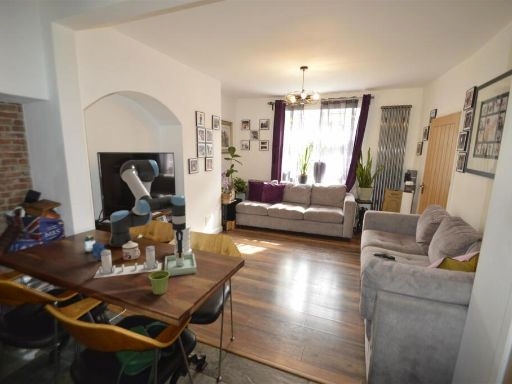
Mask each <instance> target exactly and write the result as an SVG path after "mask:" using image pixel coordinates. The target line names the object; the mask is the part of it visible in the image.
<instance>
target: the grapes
mask: <svg viewBox="0 0 512 384" xmlns="http://www.w3.org/2000/svg"><path fill="white" fill-rule="evenodd" d="M91 245H92V246H91V247H92V248H91V252H92V255H93V257H94V258H95V259H97V261H101V251H104V250H108V249H107V248H105V245H104V244H103V243H100V241H99V242H98V241H96V242H95V243H93V244H91Z"/></svg>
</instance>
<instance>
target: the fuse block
mask: <svg viewBox="0 0 512 384" xmlns="http://www.w3.org/2000/svg"><path fill="white" fill-rule="evenodd" d="M155 251H156V249H155V246H154V245H150V246H146V247H145V260H146V261H144V262H143V264H139V265H138V262H135V264H134V265H128V266H125V264H121V267H116V264H114V265H112V252H111V249H107V250H104V251H101V259H100V261H101V266H99V268H98V269H97V271H96V273H95V275H94V277H93V279H96V278H97V279H99V278H108V277H116V276H124V275H133V274H142V273H150V272H151V273H152V272H155V271H162V264H163V263H162V262H159V261H158V260H156V257H155V256H156V253H155Z"/></svg>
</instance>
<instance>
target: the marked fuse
mask: <svg viewBox="0 0 512 384" xmlns="http://www.w3.org/2000/svg"><path fill="white" fill-rule="evenodd" d="M182 251H183V252H182V254H183V263H178V253H176V265H177V266H183V265H184V244H182ZM176 252H178V244H176Z"/></svg>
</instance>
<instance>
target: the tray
mask: <svg viewBox="0 0 512 384" xmlns="http://www.w3.org/2000/svg"><path fill="white" fill-rule="evenodd" d="M195 257H196V256H195V253H194V252H193V253H192V252H191V253H190V254H184V265H183V266H177V265H176V255H175V254H174V255H173V254H172V255H171V254H170V255H165V257H164V269H163V271H168V272H169V273H170V275H169V277H172V276H180V275H188V274H197V271H198V270H197V262H196V258H195Z"/></svg>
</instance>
